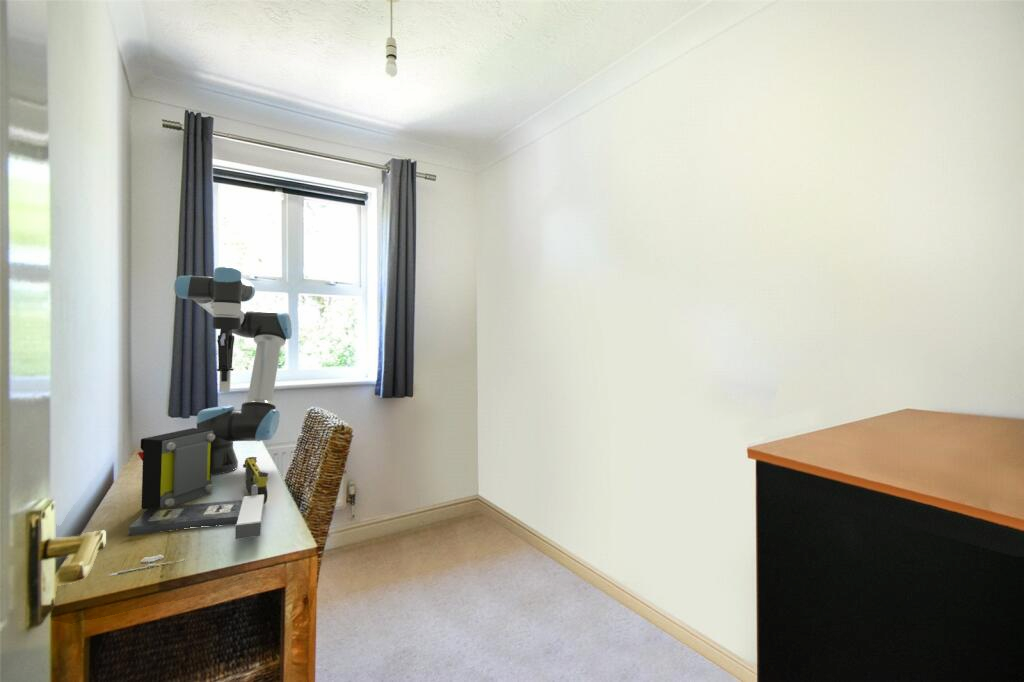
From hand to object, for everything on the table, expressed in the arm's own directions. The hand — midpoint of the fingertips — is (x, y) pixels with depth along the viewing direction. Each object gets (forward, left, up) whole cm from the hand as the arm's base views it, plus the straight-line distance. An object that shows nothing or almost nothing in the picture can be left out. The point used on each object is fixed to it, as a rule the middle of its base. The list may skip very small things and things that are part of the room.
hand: (224, 391), depth 148 cm
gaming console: (+5, +9, -33) cm, 34 cm away
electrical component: (+2, -11, -33) cm, 35 cm away
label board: (+21, -1, -32) cm, 39 cm away
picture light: (+47, -5, -33) cm, 58 cm away
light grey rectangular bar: (+34, +12, -30) cm, 47 cm away
